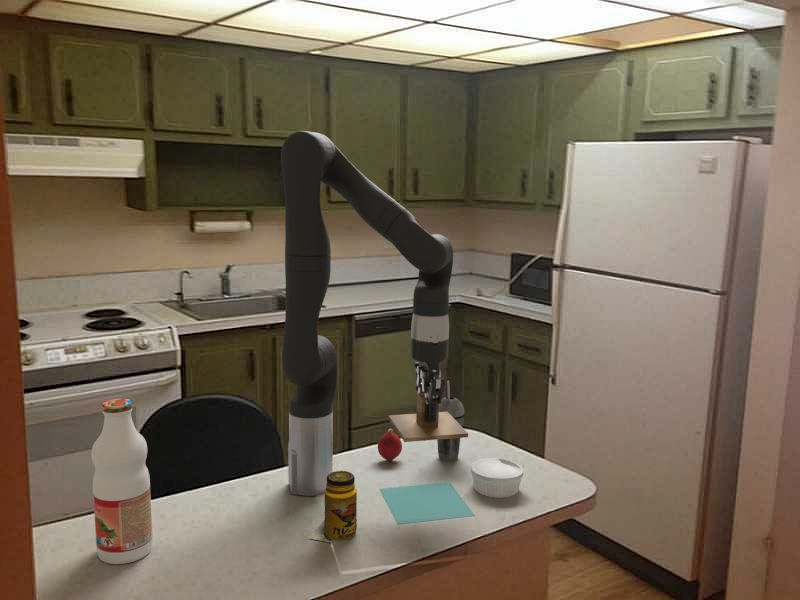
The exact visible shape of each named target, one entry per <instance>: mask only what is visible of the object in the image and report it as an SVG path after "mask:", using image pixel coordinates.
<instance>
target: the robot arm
mask: <svg viewBox="0 0 800 600" xmlns="http://www.w3.org/2000/svg"><path fill="white" fill-rule="evenodd" d="M280 158H281V159H280V161H281V173H282V182H283V183H282V184H283V191H284V192H283V193H284V201H285V202H284V203H285V211H284V212H285V213H284V214H285V217H284V220H285V221H284V225H285V226H284V230H285V241H284V244H285V245H284V246H285V248H284V272H285V274H284V275H285V318H284V320H285V321H284V331H283V338H282V339H283V342H282V350H281V365H282V370H283V373H284V376H285V377H286V379H287V380H288V381H289V383H291V384H293V385H294V386H296V387H295V390H294V392H293V394H292V395H291V396H290V399H289V400H288V425H289V426H288V432H289V435H288V436H289V439H288V443H287V447H288V448H287V449H288V452H287V453H288V454H287V455H288V456H287V457H288V458H287V459H288V460H287V462H288V470H287V471H288V472H287V473H288V485H289V490H290V494H291V495H298V496H303V497H304V496H306V497H313V496H317V495H319V494H325V489H326V484H327V480H326V479H327V476H328V475H329V474H330V473H332V472H334V471H333V465H334V464H333V458H334V457H333V456H334V455H333V445H334V444H333V438H334V437H333V432H334V431H333V422H334V421H333V417H334V416H333V414H334V413H333V409H334V408H333V407H334V406H333V405H334V401H335V400H336V399H335V398H336V395H337V383H338V382H337V380H338V356H337V351H336V349H335V347H334V345H333V343H332V342H331V340H329V339H328V338H327V337H326V336H323V335H319V332H318V330H319V329H318V328H319V318H320V313H321V309H322V307H323V303H324V301H325V297H326V295H327V291H328V289H329V286H330V285H329V284H330V279H331V272H332V271H331V266H332V265H331V261H332V260H331V258H332V257H331V255H332V254H331V252H332V250H331V249H332V248H331V241H330V237H329V233H328V229H327V226H326V223H325V218H324V216H323V212H322V208H321V184H324V185H326V186H328V187H330V188H331V189H333V190H334V191H335V192H336V193H338V194H339V195H340V196H341V197H343V199H345V201H346V202H348V204H349V205H350V206H351V207H352V208H353V210H354V211H355V212H356V213H357V215H358V217H360V218H361V219H362V220H363V221H364V222H365V223H366V224H367V225H368V226H369V227H370V228H372V230H374V231H375V232H376V233H378V234H379V235H380V236H381V237H383V238H384V239H385V240H387V241H388V242H390V243H391V244H392V245H393V246H394V247H395V249H396V250H397V251H398V252H399V253H400V254H401V255H402V256H403V258H405V260H406V261H407V262H408V263H410V264H411V265H412V266H413V267H414V268H415V269H417V270H418V278H417V279H418V280H417V283H416V285H415V287H414V290H413V295H412V296H413V297H412V300H413V301H412V318H411V326H410V334H411V335H410V357H411V359H412V360H414V361H415V362H414V363H413V369H414V370H413V372H414V383H415V387H414V388H415V391H416V392H417V394H421V393H425V421H426V422H435V421H436V406H437V404H441V400H442V398H443V395H444V394H443V393H444V387H445V383H446V381H445V378H441V377H442V372H441V368H440V364H441V362H444V361H446V360H447V359H448V358H449V341H450V339H449V337H450V321H449V320H450V319H449V306H450V301H449V300H450V296H449V294H450V293H449V292H450V291H449V289H450V283H451V280H452V279H451V278H452V272H453V264H454V249H453V246H452V243H451V241H450V240H449V239H448V238H447V237H446V236H444V235H442V234H439V233H434V234H431V233H430V232H428V231H427V230H426V229H425V228H423V227H422V226H421V225H420V224H419V223H418V222H417V219H416V217H415V216H414V215H413V214H412V213H411V212H410V211H409V210H408V209H406V208H405V207H404V206H403V205H402V204H400V203H399V202H397V201H396V200H395V199H394V198H392V197H391V196H390V195H388V193H386V192H385V191H383V190H382V189H381V188H380V187H379V186H377V185H376V184H375V183H374V182H372V181H371V180H370V179H369V178H367V177H366V175H364V174H363V173H362V172H361V171H360V170H359V169H358V168H356V166H354V164H353V163H352V162H351V161H350V160H349V159H348V158H347V157H346V156H345V155H344V154H343V152H342V151H341V150H340V149H339V148H338V147H337V145H335V144H334V142H333V141H332V140H331V139H330V138H329V137H327V136H326V135H324V134H323V133H320V132H314V131H306V130H297V131H295V132H293V133H291V134H289V135H288V136H287V138H286V139H285V140H284V142H283V144H282V147H281V153H280ZM433 396H434V398H433Z"/></svg>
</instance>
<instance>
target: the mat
mask: <svg viewBox="0 0 800 600" xmlns="http://www.w3.org/2000/svg"><path fill="white" fill-rule="evenodd" d="M378 489H379V492H380V493H381V495H382V498H383V499H384V501H385V503H386V505H387V507H388V509H389V511H390V512H391V514H392V516H393V518H394V520H395V522H396V523H397V525H405V524H412V523H423V522H432V521H433V522H434V521H441V520H450V519H457V518H466V517H476V515H475V513H474V512H473V511H472V509H471V508H470V507H469V505H468V504H467V502H466V501H465V500H464V499H463V498H462V496H461V495H460V494H459V492H458V491H457V490H456V488H455V487H454V486H453V484H452V483H451V481H445V482H436V483H434V482H433V483H424V484H414V485H403V486H394V487H385V488H378Z"/></svg>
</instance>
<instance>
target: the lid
mask: <svg viewBox="0 0 800 600" xmlns="http://www.w3.org/2000/svg"><path fill="white" fill-rule="evenodd" d="M433 398H434V396H433ZM388 421H389V422H390V424H391V425H392V426H393V427H394V429H395V431H396V432H397V434H399V435H398V436H400V439H402V441H403V442H404V443H411V442H423V441H437V440H439V439H452V438H460V439H462V438H469V433H468V432H467V430H466V429H465V428H464V427H463V425H462V426H461V425H460V424H459V423H458V422H457V421H456V420H455V419H454V418H453V417H452V416H451V415H450V414H449V413H448V412H439V404H437V406H436V421H435V422H426V421H425V393H421V394H418V393H416V413H406V414H405V413H404V414H391V415H388Z"/></svg>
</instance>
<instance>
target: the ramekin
mask: <svg viewBox="0 0 800 600" xmlns="http://www.w3.org/2000/svg"><path fill="white" fill-rule="evenodd" d="M470 465H471V466H470V472H471V475H472V484H473V488H474V490H475V491H476V492H477V493H479V494H480V495H483V496H486V497H490V498H495V499H498V498H499V499H501V498H503V499H504V498H509V497H513V496H515V495H516V494H517V493H518V492H519V489H520V486H521V481H522V478H523V477H524V468H522V466H521V465H520V464H518V463H517V462H514V461H512V460H509V459H504V458H499V457H498V458H497V457H496V458H495V457H487V458H481V459H478V460H475V461H474V462H472V463H471V464H470Z"/></svg>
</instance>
